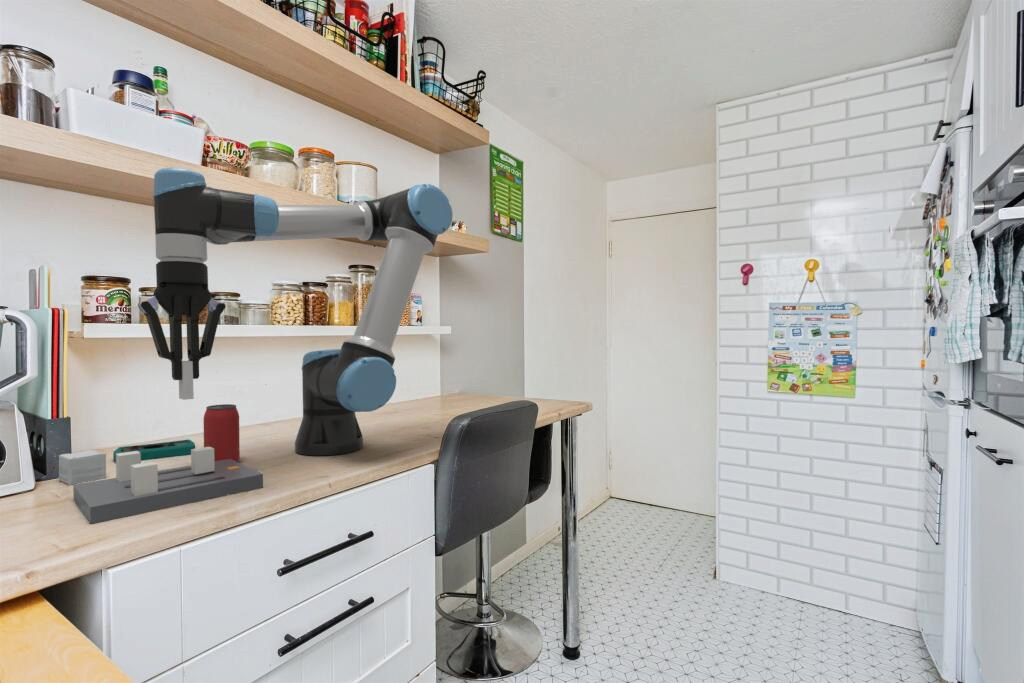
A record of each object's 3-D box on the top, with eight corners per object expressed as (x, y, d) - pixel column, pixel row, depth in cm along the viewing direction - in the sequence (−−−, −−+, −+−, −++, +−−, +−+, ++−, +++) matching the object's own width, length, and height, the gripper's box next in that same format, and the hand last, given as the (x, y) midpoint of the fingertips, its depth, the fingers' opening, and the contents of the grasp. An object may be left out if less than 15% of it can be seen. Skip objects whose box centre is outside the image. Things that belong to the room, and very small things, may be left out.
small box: (107, 478, 98) (106, 452, 98) (69, 486, 94) (68, 458, 93) (95, 473, 101) (95, 448, 101) (57, 481, 97) (57, 454, 97)
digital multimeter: (113, 459, 114) (113, 446, 114) (192, 450, 123) (192, 437, 123) (113, 466, 109) (113, 452, 108) (196, 456, 118) (196, 443, 118)
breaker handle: (210, 468, 94) (209, 446, 94) (214, 470, 93) (214, 448, 93) (191, 471, 92) (190, 449, 92) (195, 474, 91) (195, 451, 90)
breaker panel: (230, 470, 103) (230, 436, 103) (263, 487, 92) (262, 449, 92) (73, 499, 86) (72, 458, 86) (90, 523, 75) (89, 476, 75)
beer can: (242, 463, 109) (242, 406, 109) (206, 468, 105) (206, 409, 105) (236, 457, 114) (235, 403, 114) (201, 462, 110) (200, 405, 110)
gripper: (216, 266, 97) (219, 392, 98) (131, 261, 88) (135, 400, 88) (230, 263, 92) (234, 396, 93) (142, 256, 82) (146, 405, 83)
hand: (186, 398), depth 90 cm, fingers closed
